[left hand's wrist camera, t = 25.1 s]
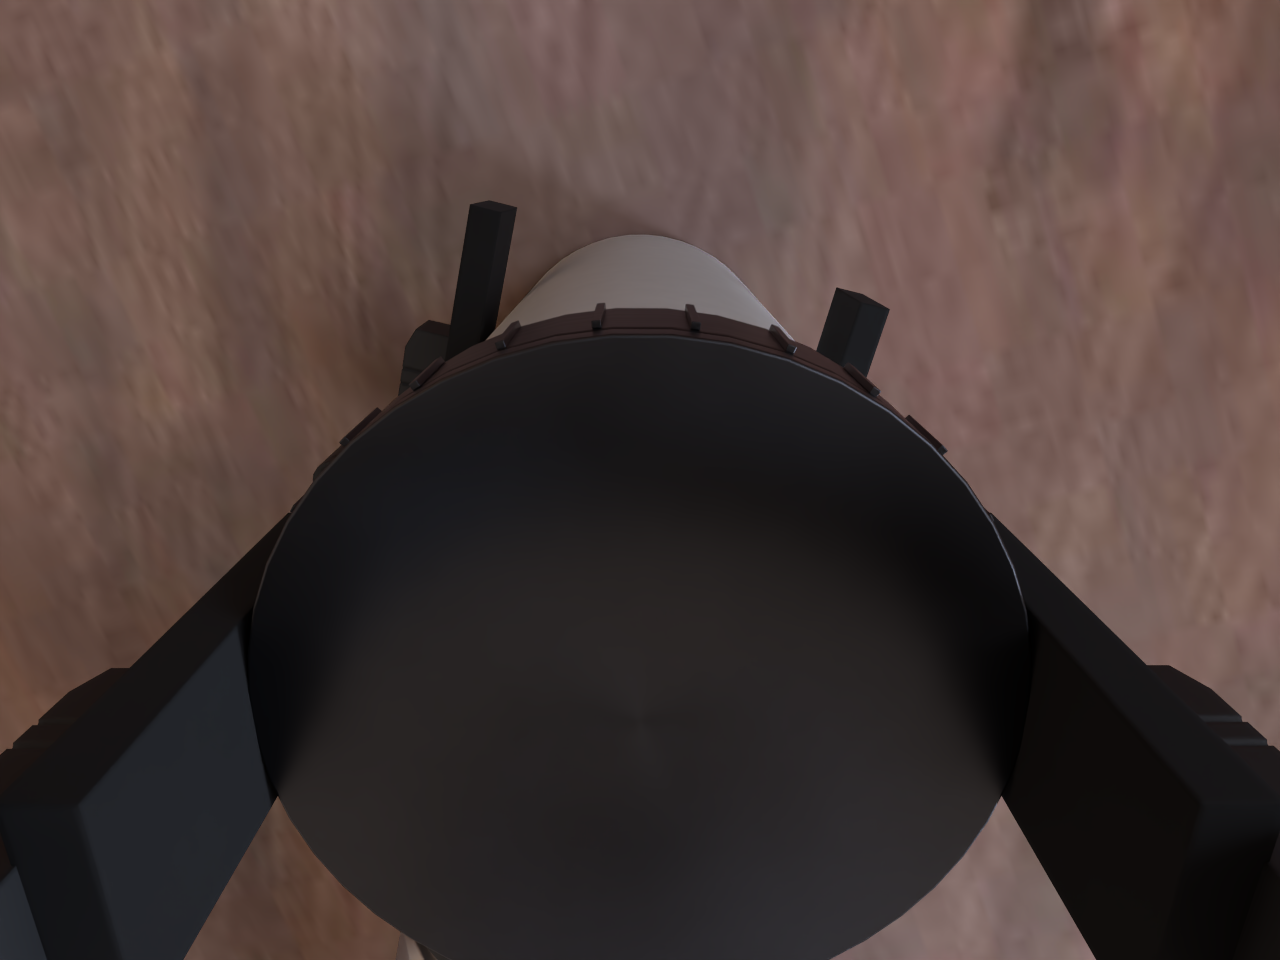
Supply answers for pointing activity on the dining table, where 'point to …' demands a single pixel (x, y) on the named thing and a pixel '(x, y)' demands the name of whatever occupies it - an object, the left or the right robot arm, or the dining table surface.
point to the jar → (639, 283)
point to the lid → (639, 650)
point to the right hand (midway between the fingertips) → (681, 253)
